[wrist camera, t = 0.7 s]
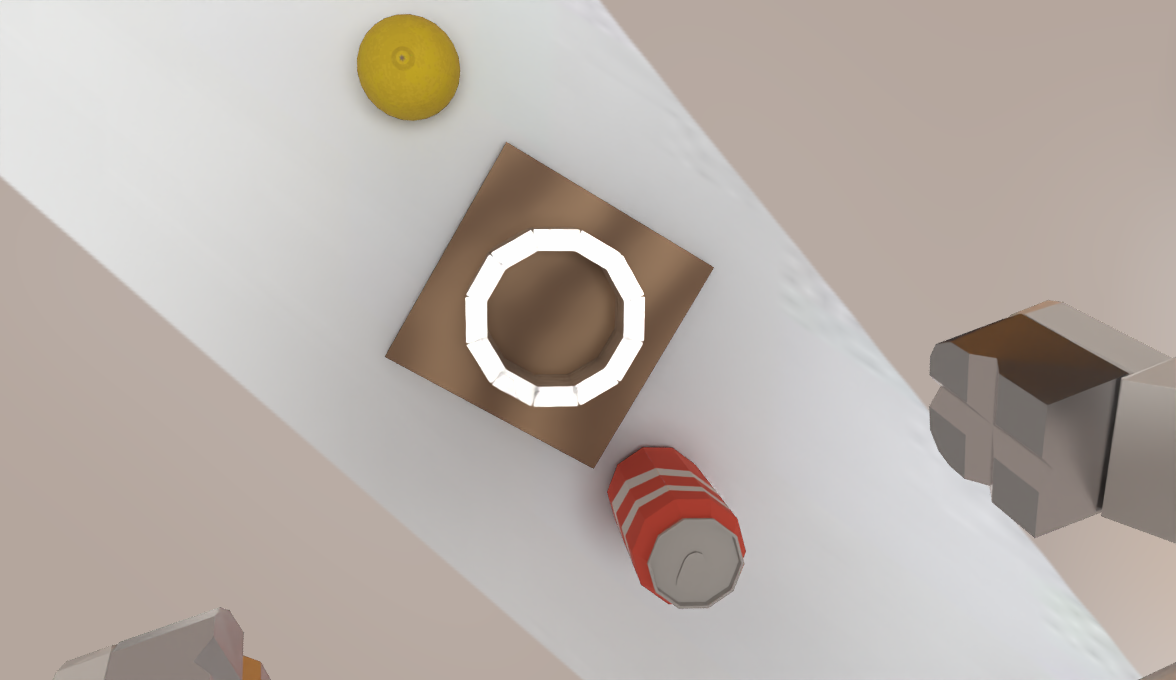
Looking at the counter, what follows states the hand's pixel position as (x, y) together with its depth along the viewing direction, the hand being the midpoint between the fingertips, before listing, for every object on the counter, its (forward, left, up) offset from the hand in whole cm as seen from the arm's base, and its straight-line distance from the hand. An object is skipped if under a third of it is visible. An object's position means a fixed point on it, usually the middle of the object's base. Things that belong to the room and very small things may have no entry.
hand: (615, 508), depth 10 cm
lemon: (+10, -6, -45) cm, 47 cm away
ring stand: (-4, +2, -45) cm, 45 cm away
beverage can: (-16, +9, -45) cm, 49 cm away
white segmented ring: (-4, +2, -44) cm, 44 cm away
